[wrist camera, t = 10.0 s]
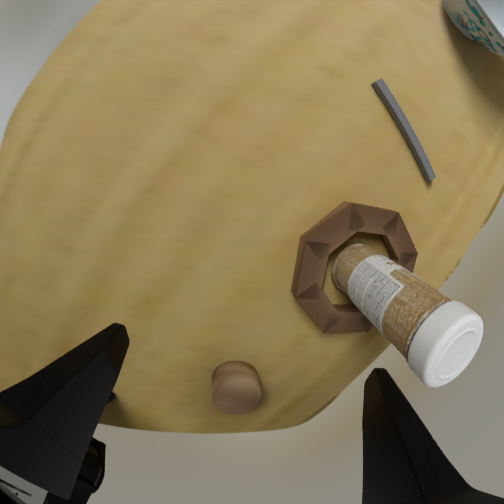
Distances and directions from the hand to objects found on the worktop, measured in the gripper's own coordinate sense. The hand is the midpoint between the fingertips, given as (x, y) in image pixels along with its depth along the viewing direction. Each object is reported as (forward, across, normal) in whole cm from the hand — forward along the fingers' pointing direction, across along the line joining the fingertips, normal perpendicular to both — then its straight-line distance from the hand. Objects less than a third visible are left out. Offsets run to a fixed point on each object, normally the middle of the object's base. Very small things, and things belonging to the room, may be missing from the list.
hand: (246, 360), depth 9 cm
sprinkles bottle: (+15, -7, +5) cm, 17 cm away
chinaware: (+26, -20, -26) cm, 42 cm away
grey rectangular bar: (+19, -10, -7) cm, 22 cm away
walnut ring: (+15, -8, +5) cm, 17 cm away
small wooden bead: (+10, +1, +16) cm, 18 cm away
